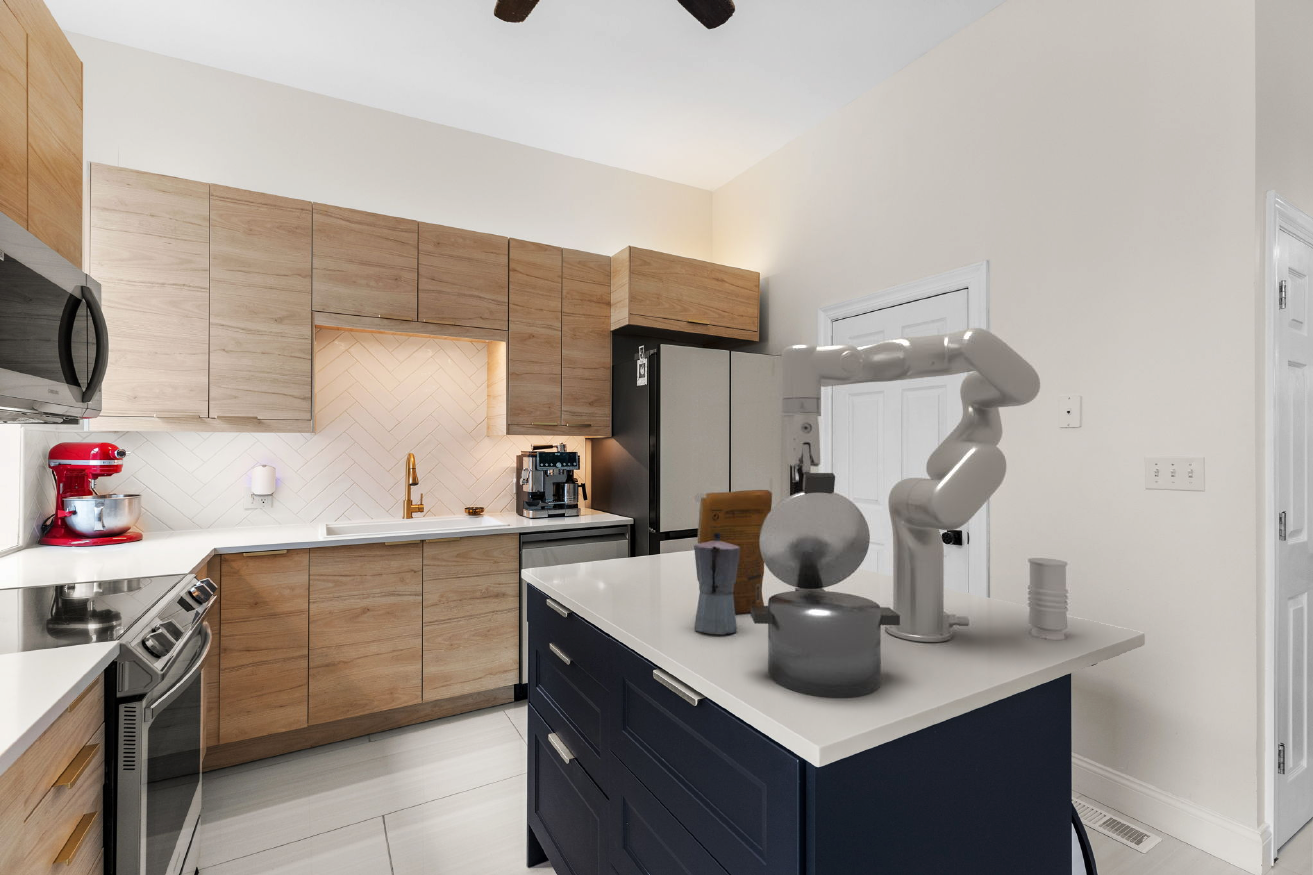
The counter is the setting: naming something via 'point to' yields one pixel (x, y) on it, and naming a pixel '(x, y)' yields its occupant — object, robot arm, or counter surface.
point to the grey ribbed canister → (1047, 598)
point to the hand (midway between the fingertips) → (801, 502)
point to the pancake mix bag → (739, 537)
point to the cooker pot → (824, 641)
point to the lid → (814, 536)
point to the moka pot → (716, 586)
